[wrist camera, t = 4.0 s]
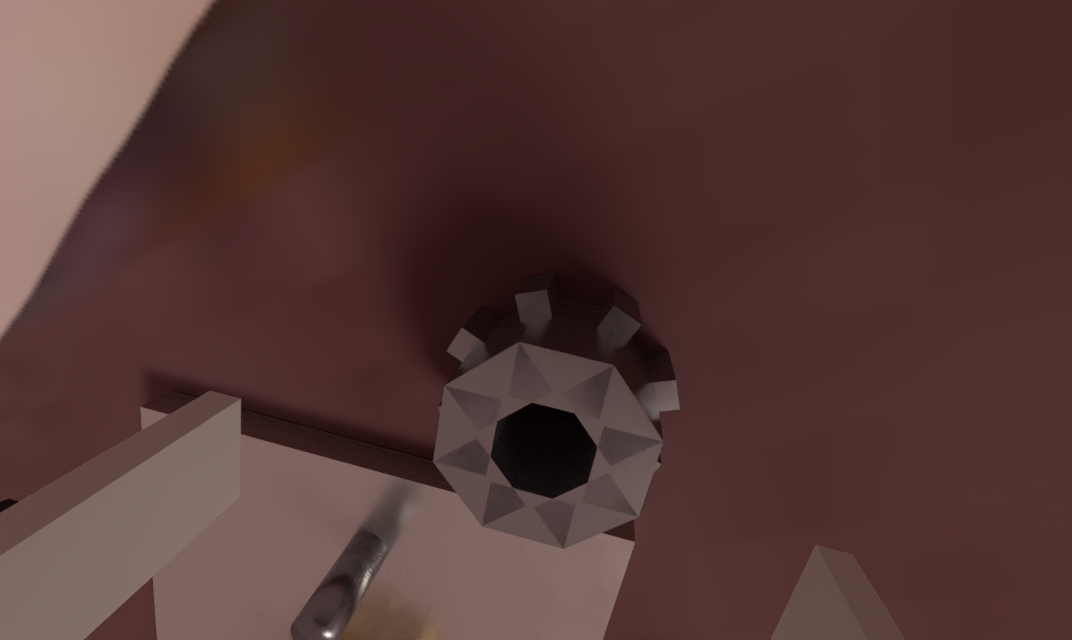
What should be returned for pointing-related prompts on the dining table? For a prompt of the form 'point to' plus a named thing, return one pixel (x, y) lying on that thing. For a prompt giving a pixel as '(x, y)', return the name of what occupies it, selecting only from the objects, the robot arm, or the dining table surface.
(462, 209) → the dining table surface
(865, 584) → the robot arm
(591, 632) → the carrier
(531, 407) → the gear
